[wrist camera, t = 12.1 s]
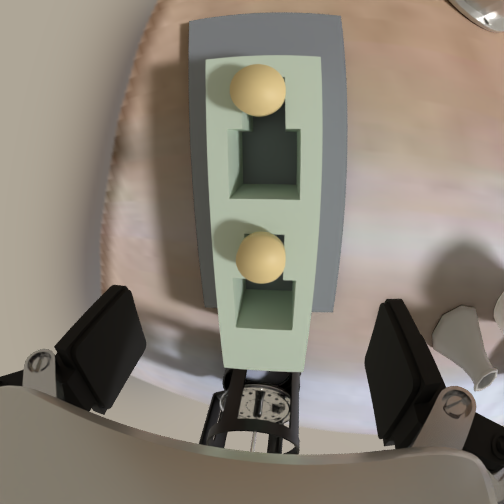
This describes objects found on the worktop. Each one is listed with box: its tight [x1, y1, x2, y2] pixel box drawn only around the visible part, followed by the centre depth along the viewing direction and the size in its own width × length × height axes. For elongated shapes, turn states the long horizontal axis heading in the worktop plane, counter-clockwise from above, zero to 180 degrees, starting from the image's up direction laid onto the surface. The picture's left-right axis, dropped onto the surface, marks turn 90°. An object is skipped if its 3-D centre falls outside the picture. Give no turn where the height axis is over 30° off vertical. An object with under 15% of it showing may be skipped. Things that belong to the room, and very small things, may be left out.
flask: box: [432, 306, 498, 391], centre depth 23 cm, size 7×7×10 cm
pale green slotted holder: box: [206, 55, 323, 372], centre depth 21 cm, size 24×7×6 cm, turn 1°
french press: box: [199, 368, 301, 455], centre depth 22 cm, size 12×9×23 cm
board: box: [189, 13, 347, 312], centre depth 19 cm, size 28×13×9 cm, turn 1°
